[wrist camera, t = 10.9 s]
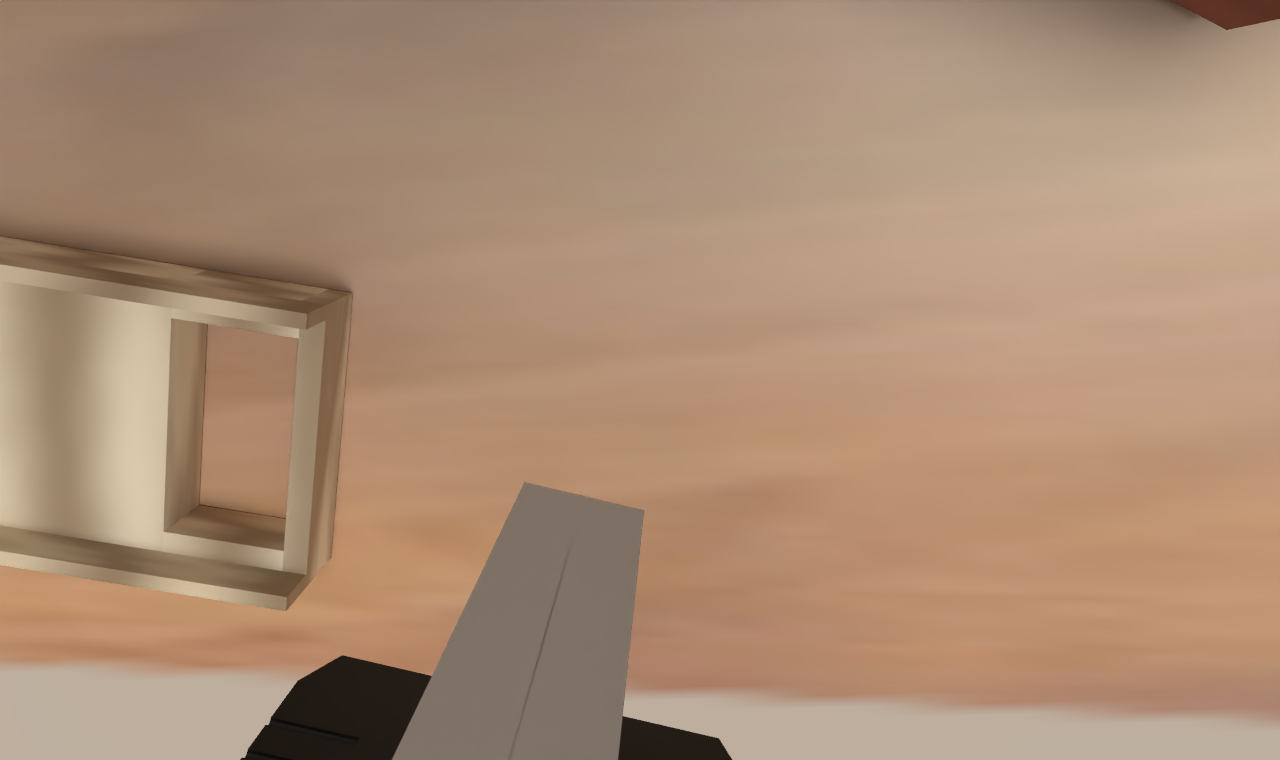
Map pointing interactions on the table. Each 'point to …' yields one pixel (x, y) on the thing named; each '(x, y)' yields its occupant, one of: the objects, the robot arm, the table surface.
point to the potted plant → (1234, 11)
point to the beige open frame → (154, 424)
